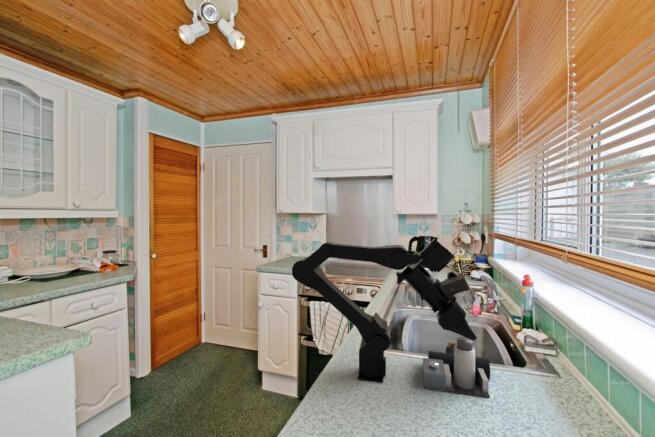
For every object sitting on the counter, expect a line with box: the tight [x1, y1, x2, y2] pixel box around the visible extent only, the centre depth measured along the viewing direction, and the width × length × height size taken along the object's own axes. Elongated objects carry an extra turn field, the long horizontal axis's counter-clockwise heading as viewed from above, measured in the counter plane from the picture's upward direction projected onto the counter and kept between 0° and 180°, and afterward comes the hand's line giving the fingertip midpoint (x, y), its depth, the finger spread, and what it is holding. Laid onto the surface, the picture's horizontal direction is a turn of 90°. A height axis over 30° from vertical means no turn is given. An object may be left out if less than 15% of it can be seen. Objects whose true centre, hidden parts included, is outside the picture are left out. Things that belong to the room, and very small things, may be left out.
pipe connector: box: [427, 342, 491, 380], centre depth 86 cm, size 12×5×15 cm
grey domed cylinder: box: [453, 336, 476, 389], centre depth 77 cm, size 5×5×11 cm
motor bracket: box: [422, 357, 491, 399], centre depth 78 cm, size 15×8×5 cm, turn 75°
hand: (470, 331), depth 77 cm, fingers open, 9 cm apart
